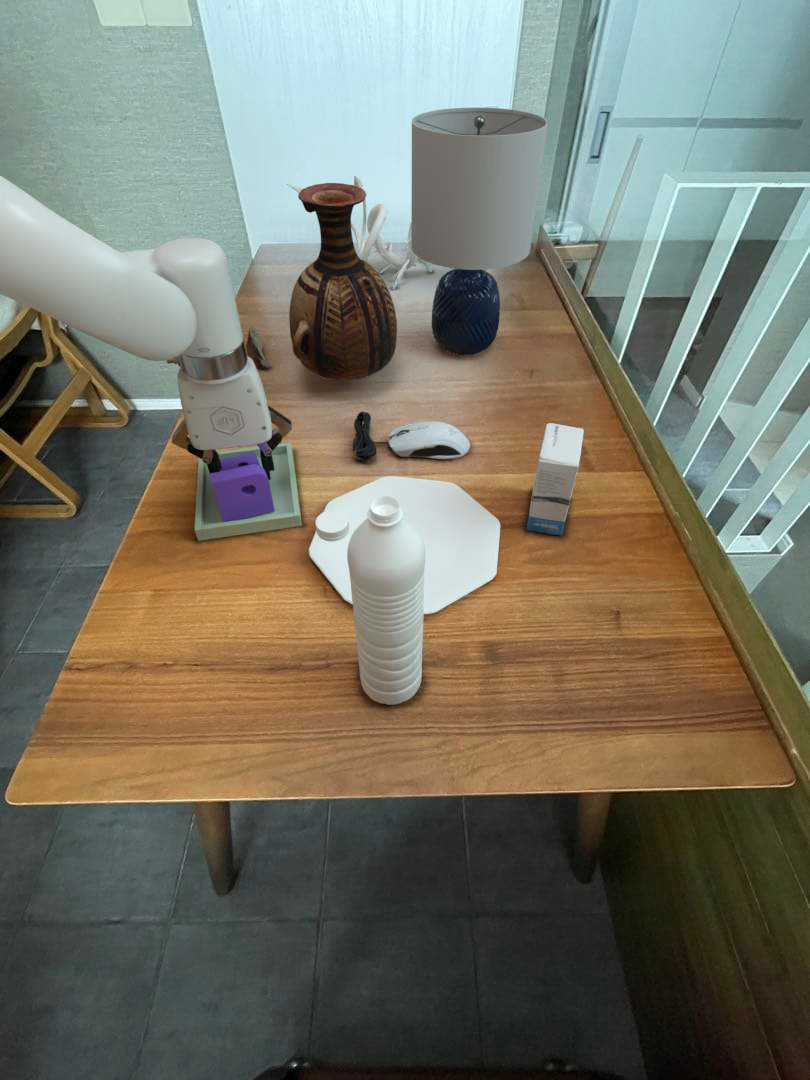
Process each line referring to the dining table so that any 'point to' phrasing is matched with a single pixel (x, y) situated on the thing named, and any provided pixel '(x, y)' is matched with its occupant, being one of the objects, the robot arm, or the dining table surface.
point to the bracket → (242, 488)
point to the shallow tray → (283, 516)
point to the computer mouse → (412, 440)
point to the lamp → (473, 211)
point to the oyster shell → (255, 348)
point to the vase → (340, 296)
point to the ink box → (555, 478)
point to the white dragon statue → (374, 227)
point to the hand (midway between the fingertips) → (244, 476)
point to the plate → (446, 529)
